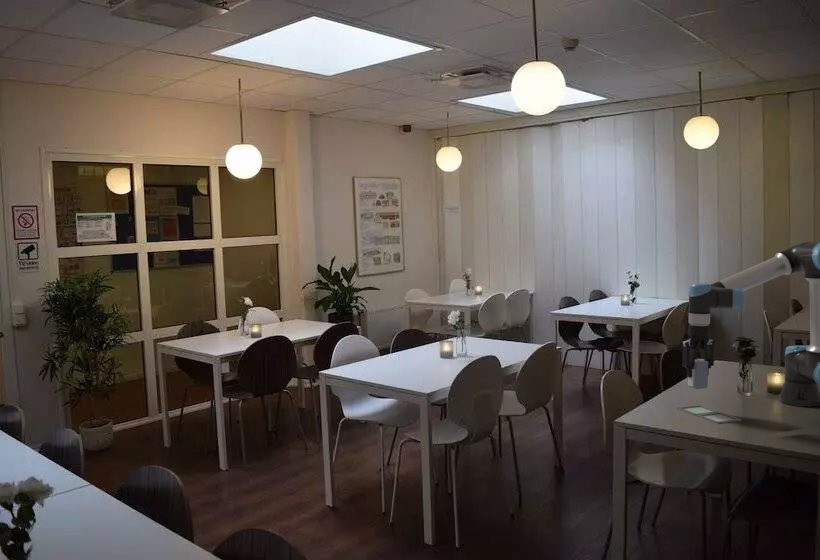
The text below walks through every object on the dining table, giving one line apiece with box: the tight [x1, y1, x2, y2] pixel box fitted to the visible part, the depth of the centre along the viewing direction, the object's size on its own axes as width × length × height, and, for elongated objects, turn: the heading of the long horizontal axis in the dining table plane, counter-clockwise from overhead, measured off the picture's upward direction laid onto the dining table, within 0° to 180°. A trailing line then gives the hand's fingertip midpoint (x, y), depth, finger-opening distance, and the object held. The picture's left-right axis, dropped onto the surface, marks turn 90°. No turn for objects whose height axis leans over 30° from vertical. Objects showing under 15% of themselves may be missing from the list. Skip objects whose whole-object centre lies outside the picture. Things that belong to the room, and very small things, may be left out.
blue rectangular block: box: [686, 358, 709, 390], centre depth 260 cm, size 5×5×11 cm
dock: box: [676, 404, 742, 425], centre depth 256 cm, size 16×22×2 cm
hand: (697, 385), depth 260 cm, fingers closed on blue rectangular block, 5 cm apart
